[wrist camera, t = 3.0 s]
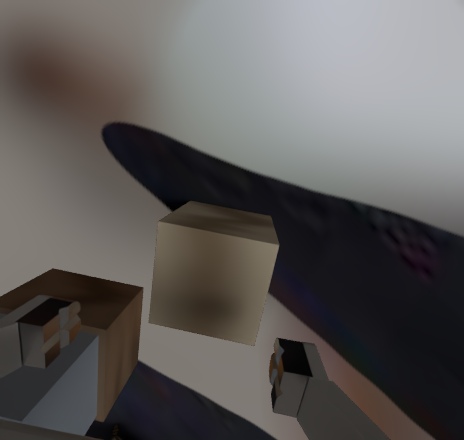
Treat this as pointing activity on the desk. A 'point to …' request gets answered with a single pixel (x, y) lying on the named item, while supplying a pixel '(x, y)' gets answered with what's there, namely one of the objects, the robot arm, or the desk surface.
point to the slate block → (55, 389)
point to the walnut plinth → (95, 323)
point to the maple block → (213, 271)
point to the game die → (115, 434)
